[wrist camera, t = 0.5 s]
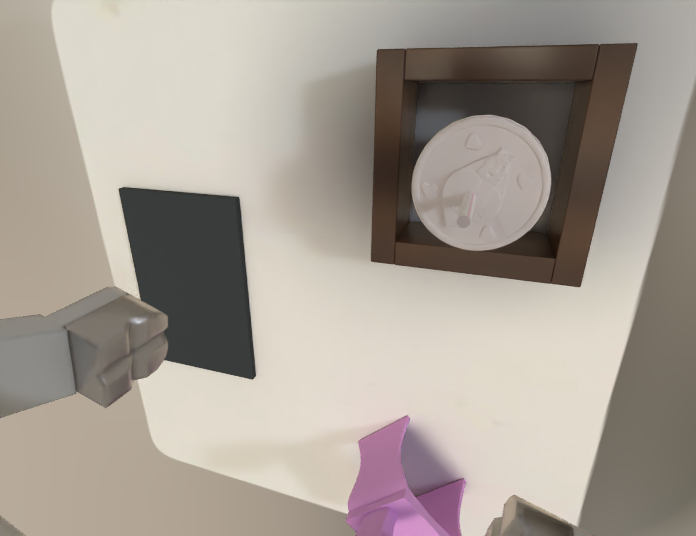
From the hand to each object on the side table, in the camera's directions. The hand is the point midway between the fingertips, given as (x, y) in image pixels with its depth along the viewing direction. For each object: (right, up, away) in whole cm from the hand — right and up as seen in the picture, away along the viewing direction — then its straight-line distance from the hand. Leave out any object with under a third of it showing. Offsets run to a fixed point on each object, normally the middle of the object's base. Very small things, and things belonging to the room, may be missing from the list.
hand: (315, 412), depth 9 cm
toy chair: (+7, -15, +31) cm, 35 cm away
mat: (-14, +1, +31) cm, 35 cm away
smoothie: (+10, +10, +20) cm, 24 cm away
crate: (+10, +10, +19) cm, 24 cm away
